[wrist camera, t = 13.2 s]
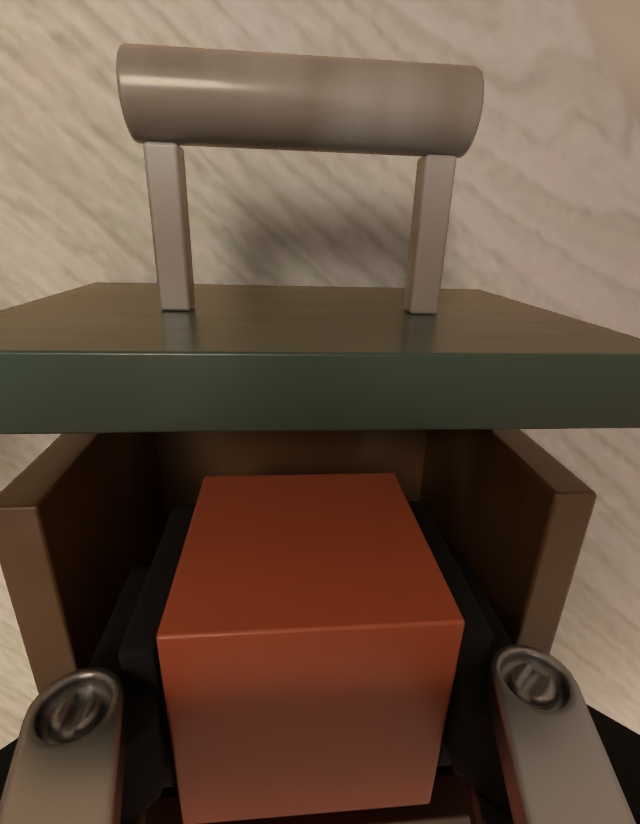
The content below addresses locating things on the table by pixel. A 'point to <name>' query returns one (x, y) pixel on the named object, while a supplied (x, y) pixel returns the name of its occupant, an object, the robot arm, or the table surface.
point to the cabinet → (437, 820)
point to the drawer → (294, 363)
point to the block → (306, 649)
